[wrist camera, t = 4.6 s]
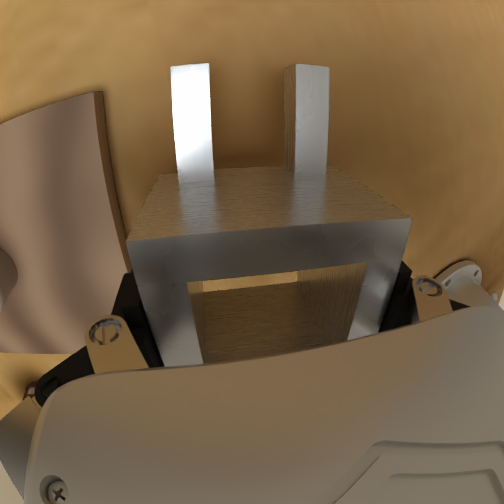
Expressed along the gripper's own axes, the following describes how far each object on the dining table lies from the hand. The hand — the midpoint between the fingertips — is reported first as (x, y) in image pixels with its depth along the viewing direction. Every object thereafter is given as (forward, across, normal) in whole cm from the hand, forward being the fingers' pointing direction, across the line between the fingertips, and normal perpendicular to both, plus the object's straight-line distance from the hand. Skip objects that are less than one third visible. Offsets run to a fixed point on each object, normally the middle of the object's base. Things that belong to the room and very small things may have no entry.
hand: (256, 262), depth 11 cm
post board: (+4, +16, +1) cm, 16 cm away
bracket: (+2, 0, -2) cm, 3 cm away
